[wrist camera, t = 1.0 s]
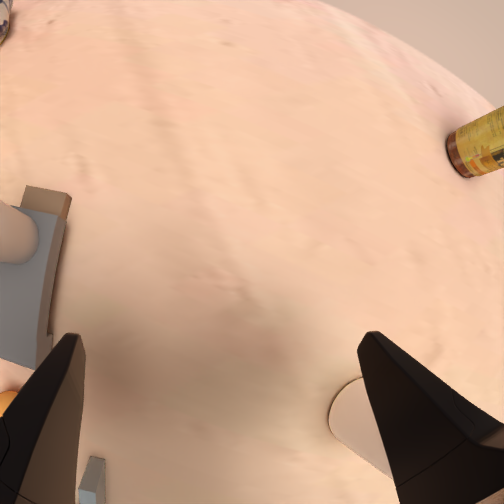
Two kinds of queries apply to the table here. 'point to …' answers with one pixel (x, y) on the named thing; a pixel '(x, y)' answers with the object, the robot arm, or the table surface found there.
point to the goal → (93, 482)
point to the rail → (46, 201)
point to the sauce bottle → (479, 145)
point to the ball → (6, 400)
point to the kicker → (27, 282)
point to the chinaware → (4, 18)
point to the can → (358, 425)
